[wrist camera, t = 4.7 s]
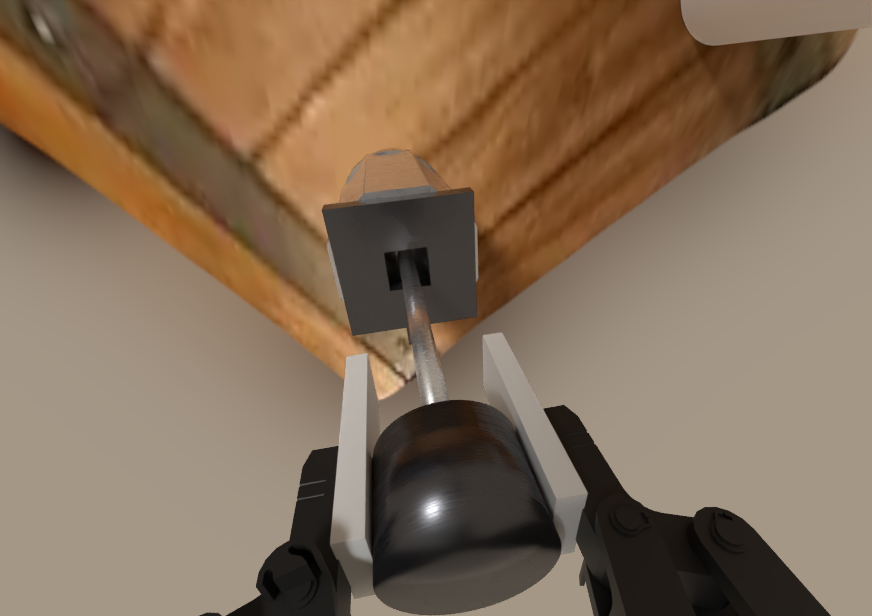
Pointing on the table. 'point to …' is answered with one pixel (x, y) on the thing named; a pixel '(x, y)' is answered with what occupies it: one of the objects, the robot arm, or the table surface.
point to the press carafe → (401, 241)
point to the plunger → (452, 490)
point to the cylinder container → (770, 18)
